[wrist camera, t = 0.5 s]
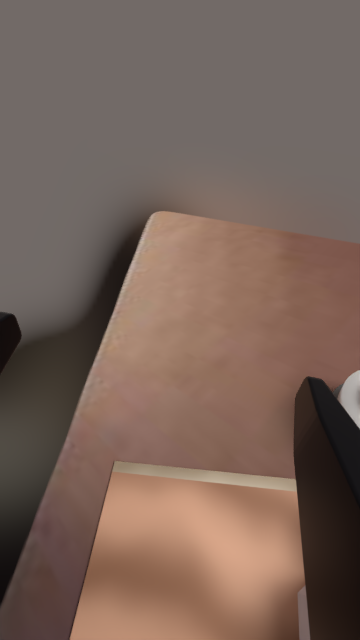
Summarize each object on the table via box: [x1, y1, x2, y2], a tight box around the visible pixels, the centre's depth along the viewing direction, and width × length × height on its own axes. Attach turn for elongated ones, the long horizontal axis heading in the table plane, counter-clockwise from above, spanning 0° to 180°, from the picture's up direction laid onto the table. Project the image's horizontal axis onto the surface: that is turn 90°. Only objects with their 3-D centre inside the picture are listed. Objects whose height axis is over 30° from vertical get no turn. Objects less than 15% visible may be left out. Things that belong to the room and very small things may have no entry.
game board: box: [70, 383, 344, 640], centre depth 18 cm, size 23×29×2 cm
